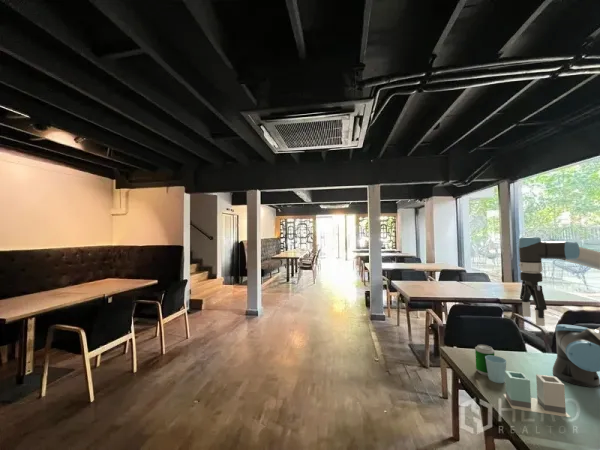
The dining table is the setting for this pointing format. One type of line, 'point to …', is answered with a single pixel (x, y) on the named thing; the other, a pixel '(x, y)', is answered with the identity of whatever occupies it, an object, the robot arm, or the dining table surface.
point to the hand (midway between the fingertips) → (533, 320)
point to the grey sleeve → (551, 393)
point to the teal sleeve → (518, 389)
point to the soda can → (482, 358)
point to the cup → (496, 368)
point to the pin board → (536, 408)
